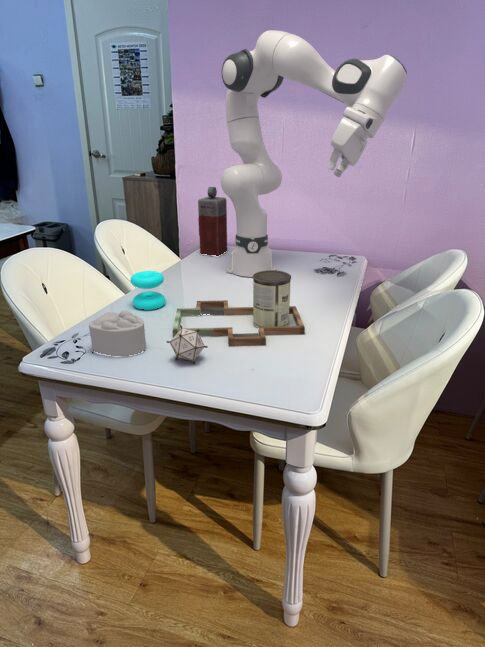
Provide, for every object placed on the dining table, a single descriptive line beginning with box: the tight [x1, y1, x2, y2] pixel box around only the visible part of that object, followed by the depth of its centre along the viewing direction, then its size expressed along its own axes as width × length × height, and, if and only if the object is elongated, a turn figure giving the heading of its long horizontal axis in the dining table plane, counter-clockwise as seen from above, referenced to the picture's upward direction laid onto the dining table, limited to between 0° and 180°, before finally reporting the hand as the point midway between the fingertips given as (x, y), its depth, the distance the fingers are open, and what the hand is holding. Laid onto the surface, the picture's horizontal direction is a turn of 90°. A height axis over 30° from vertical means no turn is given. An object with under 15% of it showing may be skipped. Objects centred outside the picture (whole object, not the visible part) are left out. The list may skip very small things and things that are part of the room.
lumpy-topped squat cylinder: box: [88, 310, 147, 356], centre depth 112 cm, size 10×13×9 cm
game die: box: [165, 324, 209, 365], centre depth 106 cm, size 9×8×10 cm
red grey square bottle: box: [197, 186, 228, 256], centre depth 191 cm, size 9×11×28 cm
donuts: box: [129, 270, 167, 311], centre depth 138 cm, size 10×10×10 cm
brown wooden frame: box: [172, 299, 306, 347], centre depth 126 cm, size 27×35×2 cm
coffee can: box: [252, 270, 292, 329], centre depth 124 cm, size 10×10×14 cm
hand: (333, 172), depth 121 cm, fingers open, 8 cm apart
